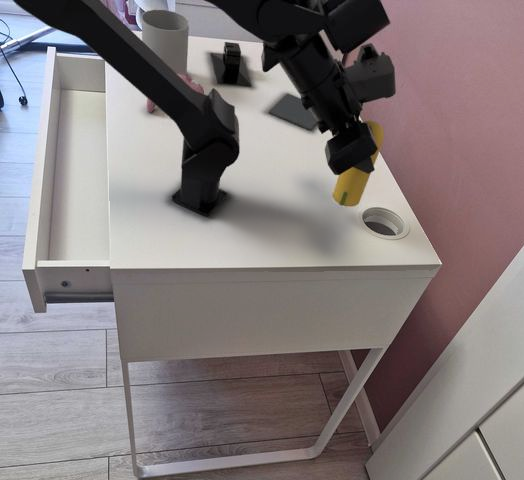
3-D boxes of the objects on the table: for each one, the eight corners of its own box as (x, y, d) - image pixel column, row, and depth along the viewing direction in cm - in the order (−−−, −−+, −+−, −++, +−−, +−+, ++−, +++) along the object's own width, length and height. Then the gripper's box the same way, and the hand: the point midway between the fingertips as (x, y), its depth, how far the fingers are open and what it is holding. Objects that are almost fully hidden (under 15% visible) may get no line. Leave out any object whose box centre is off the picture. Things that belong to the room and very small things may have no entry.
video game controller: (202, 122, 93) (207, 80, 90) (199, 123, 89) (205, 79, 85) (149, 110, 92) (153, 68, 89) (144, 111, 88) (147, 66, 85)
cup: (194, 78, 99) (198, 22, 91) (169, 92, 94) (170, 35, 86) (160, 61, 100) (160, 5, 92) (133, 75, 95) (131, 17, 87)
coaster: (310, 130, 94) (310, 128, 94) (268, 113, 96) (268, 111, 95) (327, 111, 100) (327, 109, 99) (286, 95, 101) (287, 93, 100)
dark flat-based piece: (209, 54, 106) (211, 30, 102) (243, 58, 107) (246, 34, 104) (217, 84, 99) (219, 59, 95) (252, 87, 100) (256, 63, 97)
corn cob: (353, 211, 77) (383, 136, 67) (328, 199, 77) (353, 124, 67) (363, 195, 80) (392, 121, 70) (338, 184, 80) (364, 110, 70)
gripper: (389, 71, 54) (437, 171, 64) (360, 1, 65) (406, 96, 75) (301, 129, 59) (360, 213, 69) (288, 55, 70) (341, 138, 80)
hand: (368, 162), depth 73 cm, fingers closed on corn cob, 4 cm apart
